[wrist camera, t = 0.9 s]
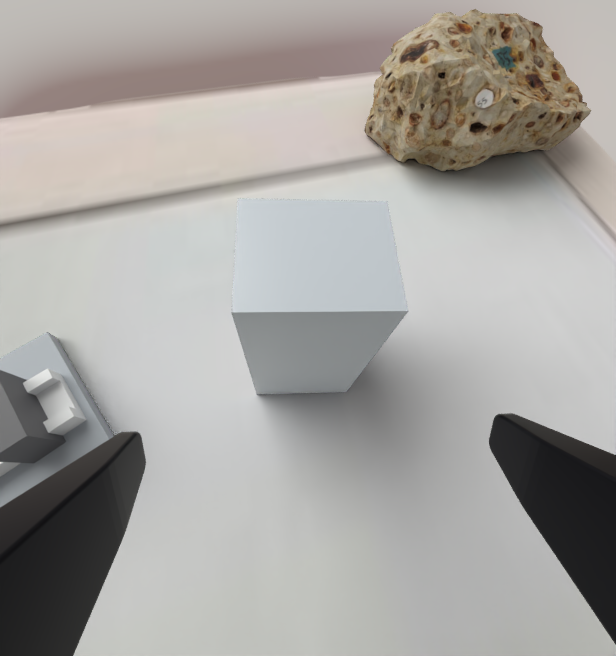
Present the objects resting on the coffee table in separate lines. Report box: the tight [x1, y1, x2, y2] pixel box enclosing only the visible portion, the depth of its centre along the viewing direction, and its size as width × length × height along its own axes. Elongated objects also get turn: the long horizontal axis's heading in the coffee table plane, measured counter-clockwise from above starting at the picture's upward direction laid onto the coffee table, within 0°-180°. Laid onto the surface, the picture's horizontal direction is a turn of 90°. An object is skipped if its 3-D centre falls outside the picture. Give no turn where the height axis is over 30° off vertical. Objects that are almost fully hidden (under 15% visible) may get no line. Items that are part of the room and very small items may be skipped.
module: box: [232, 198, 408, 394], centre depth 18 cm, size 6×6×12 cm
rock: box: [365, 9, 591, 171], centre depth 32 cm, size 21×14×10 cm
